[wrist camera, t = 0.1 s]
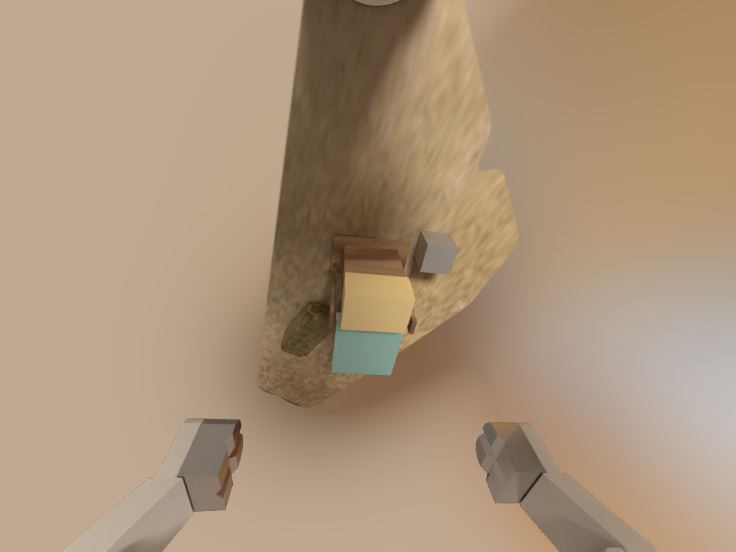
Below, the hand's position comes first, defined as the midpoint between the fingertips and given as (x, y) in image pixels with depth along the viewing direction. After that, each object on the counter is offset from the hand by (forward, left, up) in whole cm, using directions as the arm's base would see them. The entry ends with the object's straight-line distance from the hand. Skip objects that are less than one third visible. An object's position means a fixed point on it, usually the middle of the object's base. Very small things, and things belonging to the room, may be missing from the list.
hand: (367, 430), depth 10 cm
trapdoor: (+22, +5, -28) cm, 36 cm away
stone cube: (+13, +15, -39) cm, 44 cm away
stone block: (+33, -5, -39) cm, 51 cm away
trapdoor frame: (+16, +5, -39) cm, 42 cm away
